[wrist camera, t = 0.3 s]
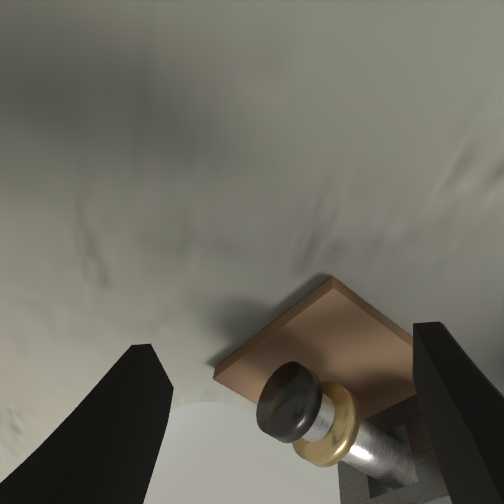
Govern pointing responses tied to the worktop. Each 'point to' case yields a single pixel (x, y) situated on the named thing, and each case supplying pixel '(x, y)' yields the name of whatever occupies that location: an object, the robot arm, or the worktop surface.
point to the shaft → (330, 426)
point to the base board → (329, 350)
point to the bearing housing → (427, 468)
